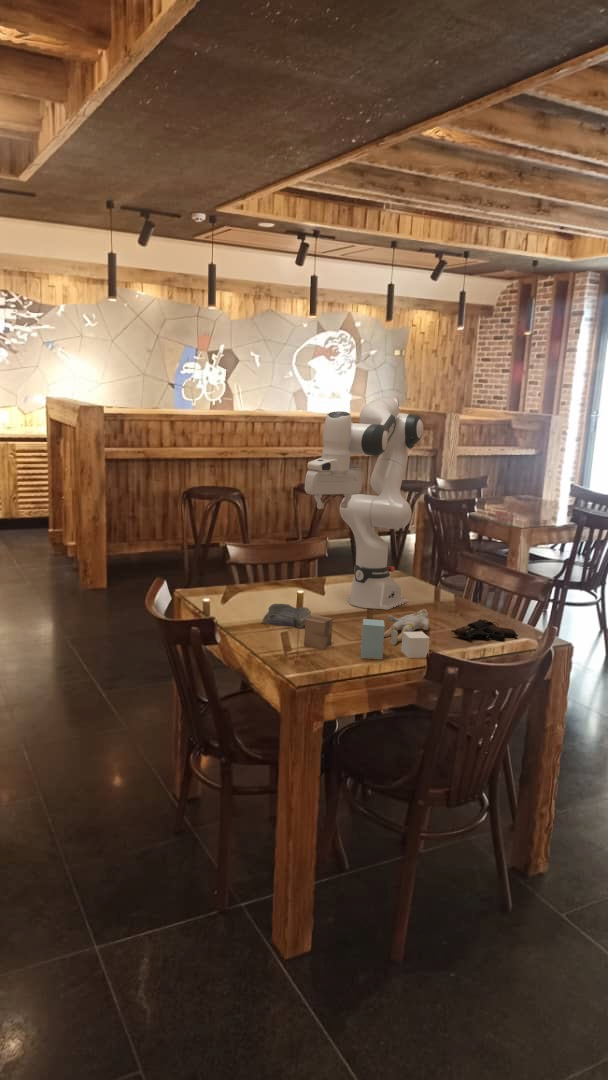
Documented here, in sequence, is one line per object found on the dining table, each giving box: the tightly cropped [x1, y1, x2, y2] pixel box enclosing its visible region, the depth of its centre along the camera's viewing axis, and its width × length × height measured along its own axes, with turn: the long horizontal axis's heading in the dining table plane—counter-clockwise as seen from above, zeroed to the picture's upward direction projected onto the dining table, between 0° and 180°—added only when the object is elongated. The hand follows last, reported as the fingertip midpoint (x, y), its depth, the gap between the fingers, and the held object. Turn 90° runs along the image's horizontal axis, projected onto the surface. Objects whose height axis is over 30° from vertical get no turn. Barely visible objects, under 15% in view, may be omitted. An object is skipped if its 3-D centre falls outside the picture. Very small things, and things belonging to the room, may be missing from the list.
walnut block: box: [303, 614, 334, 650], centre depth 231 cm, size 6×6×8 cm
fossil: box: [262, 603, 312, 629], centre depth 255 cm, size 15×16×4 cm
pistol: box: [450, 618, 519, 642], centre depth 248 cm, size 4×19×15 cm
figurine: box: [384, 608, 431, 646], centre depth 249 cm, size 13×6×30 cm
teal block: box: [360, 618, 386, 660], centre depth 223 cm, size 6×6×10 cm
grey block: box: [401, 631, 431, 659], centre depth 227 cm, size 6×6×6 cm
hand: (332, 508), depth 246 cm, fingers open, 8 cm apart
